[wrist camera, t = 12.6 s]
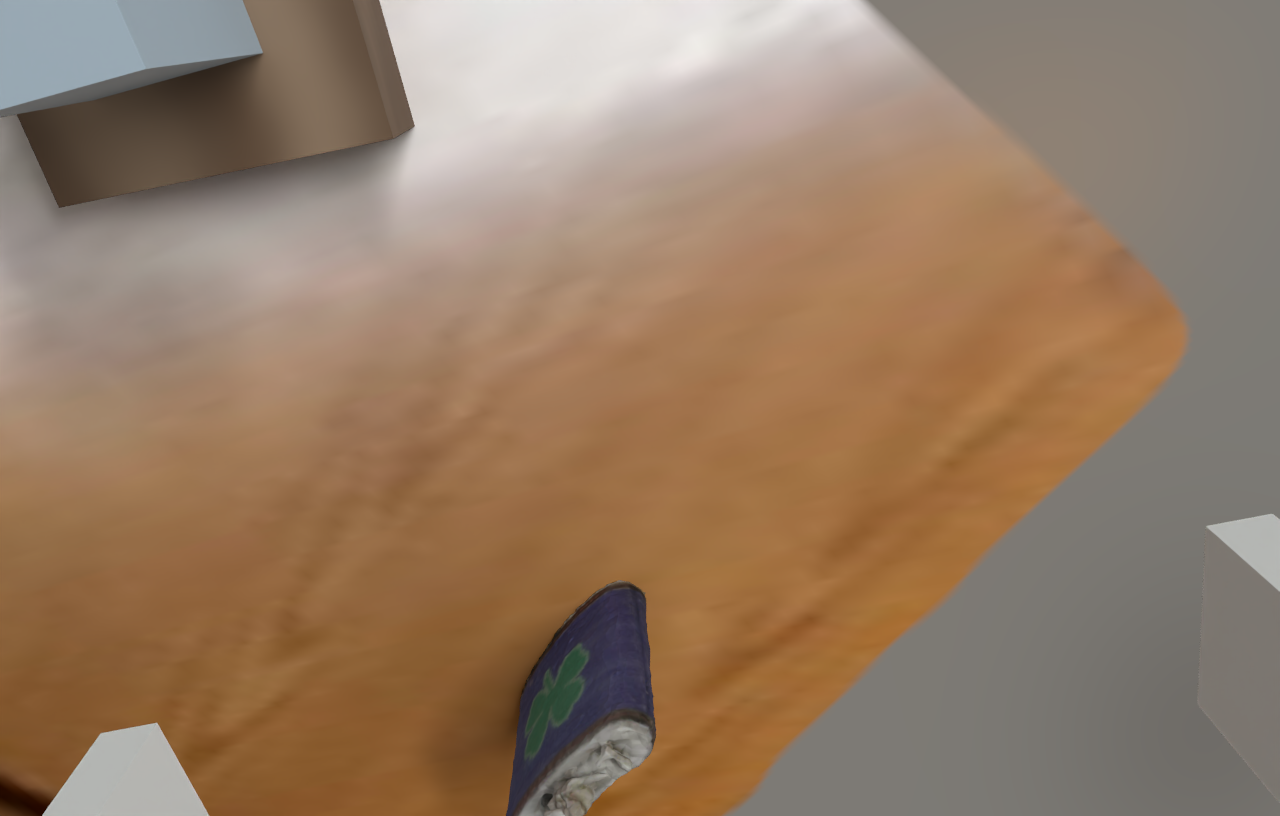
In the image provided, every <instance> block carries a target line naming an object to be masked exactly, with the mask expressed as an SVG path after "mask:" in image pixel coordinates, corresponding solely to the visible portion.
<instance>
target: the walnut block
mask: <svg viewBox="0 0 1280 816" xmlns="http://www.w3.org/2000/svg"><path fill="white" fill-rule="evenodd" d="M243 3H244V5H245V8H246V10H247V13H248V15H249V18H250V21H251V23H252V26H253V28H254V31H255V33H256V36H257V38H258V41H259V44H260V46H261V49H262V51H263V53H262V54H258V55H254V56H251V57H247V58H244V59H240V60H236V61H233V62H229V63H226V64H222V65H218V66H215V67H211V68H208V69H204V70H201V71H197V72H193V73H190V74H186V75H183V76H179V77H175V78H172V79H168V80H165V81H161V82H157V83H154V84H150V85H147V86H143V87H139V88H136V89H132V90H129V91H125V92H122V93H118V94H114V95H111V96H107V97H104V98H100V99H96V100H92V101H87V102H81V103H76V104H70V105H65V106H59V107H54V108H48V109H43V110H37V111H32V112H26V113H21V114H17V116H18V118H19V120H20V122H21V125H22V127H23V129H24V131H25V133H26V136H27V138H28V140H29V142H30V144H31V147H32V149H33V151H34V153H35V155H36V158H37V160H38V162H39V164H40V166H41V169H42V171H43V173H44V175H45V178H46V180H47V182H48V184H49V186H50V189H51V191H52V193H53V195H54V197H55V200H56V202H57V204H58V206H59V208H60V207H65V206H70V205H74V204H79V203H84V202H89V201H94V200H99V199H103V198H108V197H113V196H118V195H123V194H128V193H132V192H137V191H142V190H147V189H152V188H157V187H162V186H166V185H171V184H176V183H181V182H186V181H191V180H195V179H200V178H205V177H210V176H215V175H220V174H225V173H229V172H234V171H239V170H244V169H249V168H254V167H258V166H263V165H268V164H273V163H278V162H283V161H288V160H292V159H297V158H302V157H307V156H312V155H317V154H321V153H326V152H331V151H336V150H341V149H346V148H351V147H355V146H360V145H365V144H370V143H375V142H380V141H384V140H389V139H394V138H395V137H397V136H399V135H401V134H402V133H404V132H406V131H407V130H409V129H411V128H413V127H414V126H415V125H414V122H413V118H412V115H411V111H410V108H409V104H408V101H407V97H406V94H405V90H404V87H403V83H402V80H401V76H400V72H399V69H398V65H397V62H396V58H395V55H394V51H393V48H392V44H391V41H390V37H389V34H388V30H387V27H386V23H385V20H384V16H383V13H382V9H381V5H380V2H379V0H243Z"/></svg>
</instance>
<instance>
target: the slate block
mask: <svg viewBox="0 0 1280 816" xmlns="http://www.w3.org/2000/svg"><path fill="white" fill-rule="evenodd" d="M262 53H263V51H262V49H261V46H260V44H259V41H258V38H257V36H256V33H255V31H254V28H253V26H252V23H251V21H250V18H249V15H248V13H247V10H246V8H245V5H244V3H243V0H0V117H4V116H10V115H15V114H21V113H26V112H32V111H37V110H43V109H48V108H54V107H59V106H65V105H70V104H76V103H81V102H87V101H92V100H96V99H100V98H104V97H107V96H111V95H114V94H118V93H122V92H125V91H129V90H132V89H136V88H139V87H143V86H147V85H150V84H154V83H157V82H161V81H165V80H168V79H172V78H175V77H179V76H183V75H186V74H190V73H193V72H197V71H201V70H204V69H208V68H211V67H215V66H218V65H222V64H226V63H229V62H233V61H236V60H240V59H244V58H247V57H251V56H254V55H258V54H262Z"/></svg>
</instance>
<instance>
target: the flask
mask: <svg viewBox="0 0 1280 816" xmlns="http://www.w3.org/2000/svg"><path fill="white" fill-rule="evenodd" d="M649 667H650V647H649V642H648V634H647V623H646V598H645V592H642V590H641V589H639V588H638V587H636V586H635V585H633V584H631V583H630V582H625V581H621V580H619V581H617V582H614V583H610V584H607V585H606V586H605V587H604V588H602V589H600V590H598V591H597V592H596V593H594V594H593V595H592V596H591V597H590V598H589V599H588V600H587V601H586V602H585V603H584V604H582V605H581V606H579V607H578V608H577V609H576V612H575V613H574V614H572V615H570V617H569V618H568V619H567V620H566V621H565V622H564V625H563V626H562V627H561V629H559V630H558V631H557V633H556V634H555V637H554V638H553V641H552V642H551V643H550V644H548V647H547V648H546V650H545V652H544V653H543V654H542V656H541V657H540V658H539V662H538V663H537V664H536V666H534V669H532V672H531V674H530V676H529V677H528V679H527V680H526V681H527V683H526V684H525V688H524V690H523V692H522V696H521V701H520V716H519V722H518V728H517V738H516V749H515V757H514V761H513V773H512V780H511V786H510V796H509V804H508V810H507V813H506V816H583V815H585V814H586V813H587V811H588V809H589V808H590V807H591V806H592V805H591V804H592V803H593V802H594V801H595V800H596V799H597V798H599V796H600V795H601V793H602V792H604V791H605V790H606V789H607V788H608V787H609V786H611V785H612V783H613V782H614V781H615V780H617V779H618V778H619V777H620V776H622V775H624V774H626V773H628V772H629V771H630V770H631V769H633V768H636V767H638V766H640V764H641V763H642V762H643V761H644V760H645V759H646V758H647V757H648V756H649V755H650V753H651V751H652V749H653V745H654V741H655V738H656V728H655V718H654V714H653V710H654V707H653V694H652V687H651V673H650V668H649Z"/></svg>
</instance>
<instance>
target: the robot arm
mask: <svg viewBox="0 0 1280 816" xmlns="http://www.w3.org/2000/svg"><path fill="white" fill-rule="evenodd" d="M1204 555H1205V556H1204V575H1203V596H1202V597H1203V598H1202V617H1201V638H1200V660H1199V680H1198V701H1197V704H1198V706H1199V707H1200V708H1201V709H1202V710H1203V712H1204V713H1205V714H1206V715H1207V716H1208V717H1209V719H1210V720H1211V721H1212V723H1213V724H1214V725H1215V726H1216V727H1217V728H1218V730H1219V731H1220V732H1221V733H1222V735H1223V736H1224V737H1225V738H1226V739H1227V741H1228V742H1229V743H1230V744H1231V745H1232V747H1233V748H1234V749H1235V750H1236V752H1237V753H1238V754H1239V755H1240V756H1241V758H1242V759H1243V760H1244V761H1245V762H1246V764H1247V765H1248V766H1249V767H1250V768H1251V770H1252V771H1253V772H1254V773H1255V774H1256V776H1257V777H1258V778H1259V779H1260V780H1261V782H1262V783H1263V784H1264V785H1265V787H1266V788H1267V789H1268V790H1269V791H1270V793H1271V794H1272V795H1273V796H1274V797H1275V798H1276V800H1277V801H1278V802H1279V803H1280V519H1278V518H1277V517H1276V516H1274V515H1273V514H1268V515H1263V516H1258V517H1253V518H1247V519H1242V520H1236V521H1231V522H1226V523H1221V524H1215V525H1210V526H1206V534H1205V554H1204ZM42 816H209V815H208V813H207V811H206V809H205V808H204V806H203V804H202V802H201V800H200V799H199V797H198V795H197V793H196V791H195V790H194V788H193V786H192V784H191V783H190V781H189V779H188V777H187V775H186V774H185V772H184V770H183V768H182V766H181V765H180V763H179V761H178V759H177V758H176V756H175V754H174V752H173V750H172V749H171V747H170V745H169V743H168V741H167V740H166V738H165V736H164V734H163V733H162V731H161V729H160V727H159V725H158V724H157V723H153V724H148V725H143V726H137V727H132V728H127V729H121V730H116V731H111V732H105V733H101V734H100V735H99V736H98V738H97V739H96V741H95V742H94V743H93V745H92V746H91V748H90V749H89V750H88V752H87V753H86V755H85V756H84V757H83V759H82V760H81V762H80V763H79V765H78V766H77V767H76V769H75V770H74V772H73V773H72V774H71V776H70V777H69V779H68V780H67V781H66V783H65V784H64V786H63V787H62V788H61V790H60V791H59V793H58V794H57V795H56V797H55V798H54V800H53V801H52V802H51V804H50V805H49V807H48V808H47V809H46V811H45V812H44V814H43V815H42Z"/></svg>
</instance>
